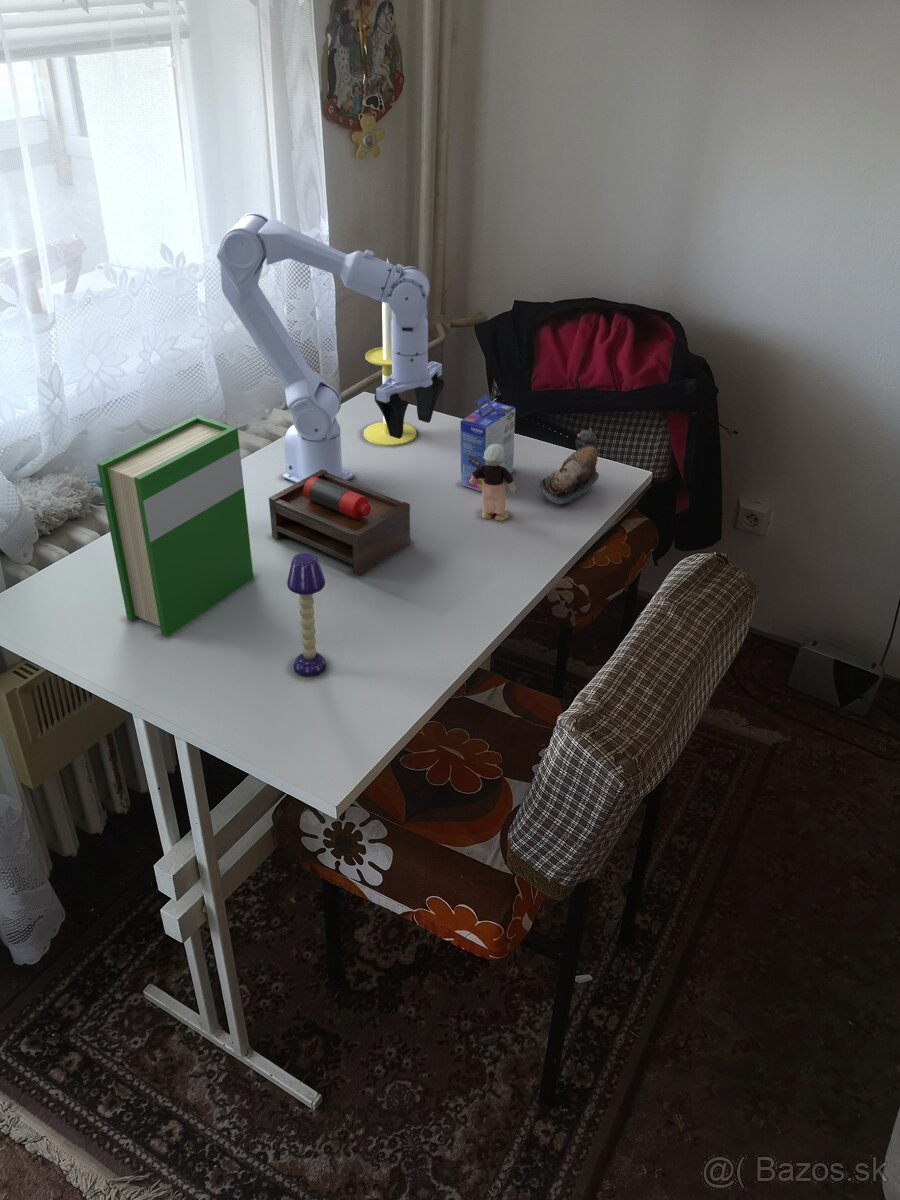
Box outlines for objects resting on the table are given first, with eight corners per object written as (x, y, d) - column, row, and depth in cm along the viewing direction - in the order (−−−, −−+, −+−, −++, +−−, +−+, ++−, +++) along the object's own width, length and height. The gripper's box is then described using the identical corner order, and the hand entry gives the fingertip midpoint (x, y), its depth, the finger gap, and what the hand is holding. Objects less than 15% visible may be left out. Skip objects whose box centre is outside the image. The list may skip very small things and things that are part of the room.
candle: (398, 450, 186) (396, 270, 168) (352, 437, 190) (345, 260, 172) (427, 430, 193) (428, 255, 175) (382, 418, 198) (379, 246, 179)
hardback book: (166, 637, 139) (139, 479, 125) (127, 619, 142) (96, 463, 129) (253, 577, 151) (237, 427, 138) (215, 562, 155) (196, 414, 141)
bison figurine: (566, 514, 169) (571, 459, 163) (530, 500, 172) (534, 446, 166) (603, 487, 176) (610, 433, 171) (568, 475, 180) (574, 422, 174)
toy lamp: (294, 655, 136) (285, 548, 127) (330, 654, 137) (323, 547, 127) (293, 678, 132) (284, 569, 123) (329, 676, 133) (323, 568, 123)
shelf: (272, 537, 161) (268, 497, 157) (324, 507, 169) (322, 469, 165) (359, 576, 152) (358, 535, 148) (410, 543, 160) (410, 503, 156)
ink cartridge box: (487, 463, 183) (490, 386, 175) (514, 471, 181) (519, 394, 172) (457, 485, 176) (459, 406, 168) (485, 494, 174) (488, 414, 165)
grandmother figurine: (515, 511, 169) (519, 440, 162) (514, 522, 166) (518, 451, 159) (468, 508, 170) (471, 437, 162) (466, 519, 167) (469, 448, 159)
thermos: (308, 504, 159) (299, 489, 156) (322, 486, 160) (314, 471, 157) (363, 527, 153) (355, 512, 150) (377, 509, 155) (370, 493, 152)
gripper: (400, 369, 156) (401, 450, 163) (457, 342, 165) (455, 420, 173) (365, 358, 159) (367, 438, 167) (422, 332, 169) (422, 409, 176)
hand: (410, 428), depth 170 cm, fingers open, 7 cm apart
